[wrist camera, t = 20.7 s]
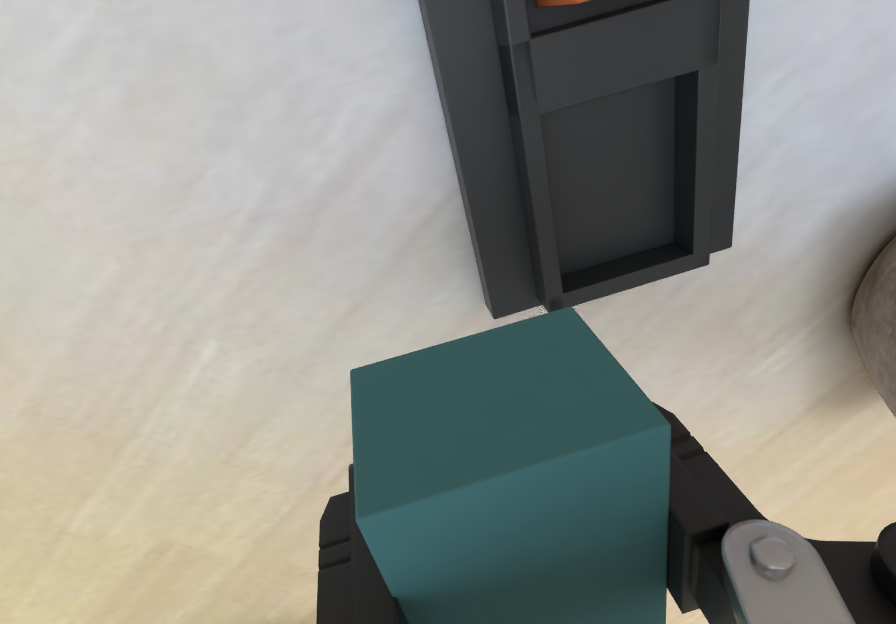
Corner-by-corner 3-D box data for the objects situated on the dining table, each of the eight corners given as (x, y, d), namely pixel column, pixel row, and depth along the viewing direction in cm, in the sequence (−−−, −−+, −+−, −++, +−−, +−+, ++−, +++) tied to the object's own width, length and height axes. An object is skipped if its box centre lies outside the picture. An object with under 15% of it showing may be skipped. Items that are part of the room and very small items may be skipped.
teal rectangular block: (349, 368, 10) (354, 522, 7) (571, 304, 10) (673, 425, 7) (422, 553, 13) (448, 714, 10) (590, 500, 13) (666, 642, 10)
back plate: (357, -272, 15) (362, -335, 12) (742, -365, 15) (825, -444, 13) (485, 305, 25) (502, 336, 22) (712, 236, 26) (754, 259, 23)
